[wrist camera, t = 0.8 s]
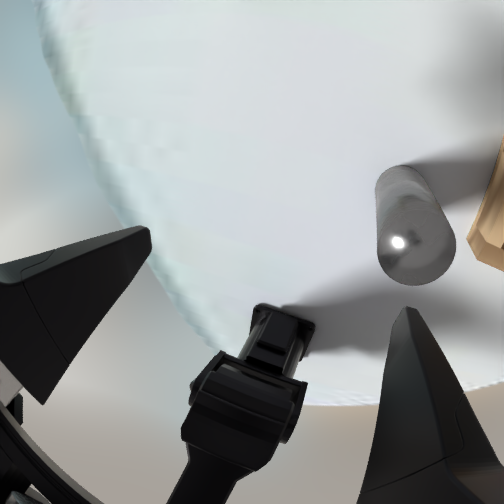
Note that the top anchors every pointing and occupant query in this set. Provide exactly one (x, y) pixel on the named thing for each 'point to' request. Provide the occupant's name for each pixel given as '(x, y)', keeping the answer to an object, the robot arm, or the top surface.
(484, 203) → the socket block
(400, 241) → the metal pin
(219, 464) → the robot arm
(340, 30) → the top surface
